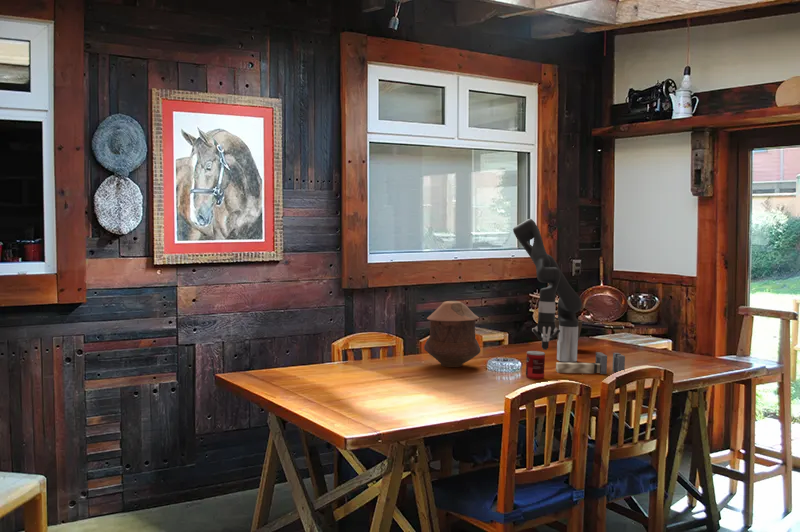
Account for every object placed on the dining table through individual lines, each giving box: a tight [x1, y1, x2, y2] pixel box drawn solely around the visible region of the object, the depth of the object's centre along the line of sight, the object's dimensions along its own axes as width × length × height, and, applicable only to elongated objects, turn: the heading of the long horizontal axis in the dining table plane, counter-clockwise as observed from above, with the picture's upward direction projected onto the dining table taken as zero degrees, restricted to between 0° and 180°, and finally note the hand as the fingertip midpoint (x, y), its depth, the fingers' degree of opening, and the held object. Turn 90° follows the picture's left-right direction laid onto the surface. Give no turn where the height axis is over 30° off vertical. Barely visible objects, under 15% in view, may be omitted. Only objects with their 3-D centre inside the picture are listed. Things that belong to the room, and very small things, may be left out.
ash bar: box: [555, 361, 600, 374], centre depth 350 cm, size 20×4×4 cm, turn 91°
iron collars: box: [594, 351, 626, 375], centre depth 351 cm, size 10×9×8 cm
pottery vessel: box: [423, 300, 481, 368], centre depth 356 cm, size 26×26×30 cm
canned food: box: [525, 350, 546, 380], centre depth 335 cm, size 8×8×11 cm
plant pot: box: [555, 318, 583, 341], centre depth 417 cm, size 15×15×16 cm
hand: (544, 349), depth 350 cm, fingers closed
